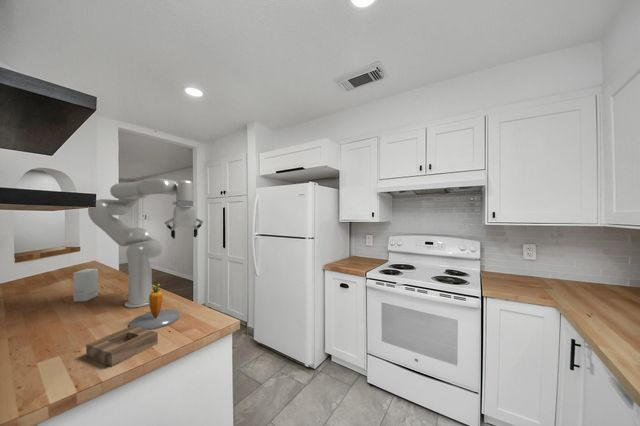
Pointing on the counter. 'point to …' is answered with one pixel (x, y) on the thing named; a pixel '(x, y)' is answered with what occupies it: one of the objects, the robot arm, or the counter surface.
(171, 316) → the plate
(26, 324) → the counter surface
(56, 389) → the counter surface
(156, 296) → the carrot
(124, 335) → the pocket block
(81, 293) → the skincare box
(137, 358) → the counter surface
